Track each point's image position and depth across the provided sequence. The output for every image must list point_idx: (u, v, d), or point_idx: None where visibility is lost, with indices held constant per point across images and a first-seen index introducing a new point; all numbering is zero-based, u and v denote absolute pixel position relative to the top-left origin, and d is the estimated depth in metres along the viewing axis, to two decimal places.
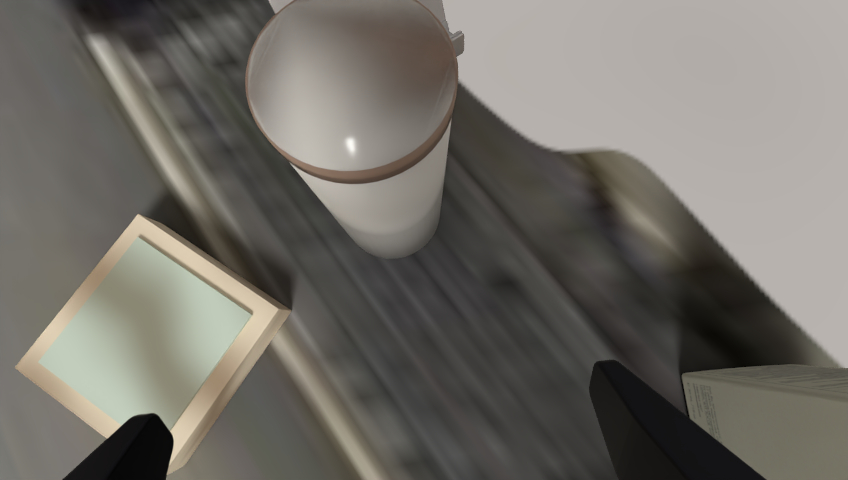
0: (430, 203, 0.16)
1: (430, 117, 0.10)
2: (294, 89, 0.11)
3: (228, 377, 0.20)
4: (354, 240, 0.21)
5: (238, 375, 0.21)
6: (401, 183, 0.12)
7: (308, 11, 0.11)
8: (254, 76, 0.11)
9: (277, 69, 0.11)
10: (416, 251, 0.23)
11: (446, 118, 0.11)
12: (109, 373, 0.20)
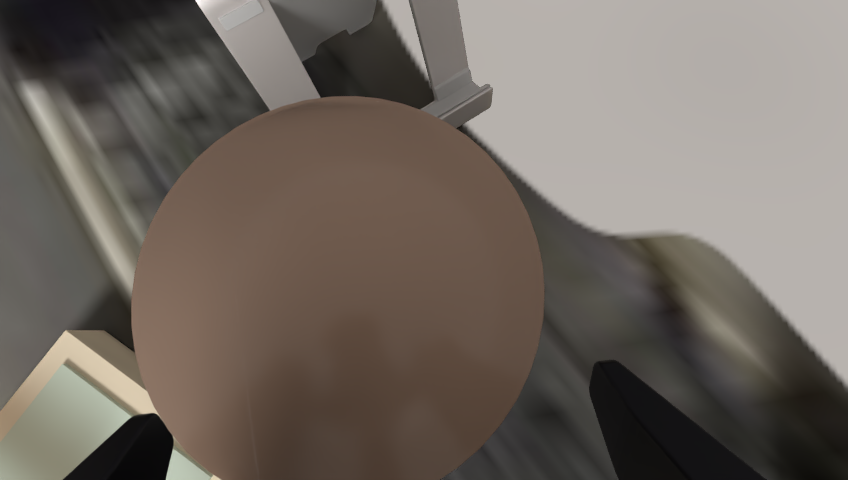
0: None
1: (493, 383, 0.05)
2: (227, 318, 0.05)
3: None
4: None
5: None
6: None
7: (258, 153, 0.06)
8: (150, 288, 0.06)
9: (196, 274, 0.06)
10: None
11: (524, 381, 0.05)
12: None
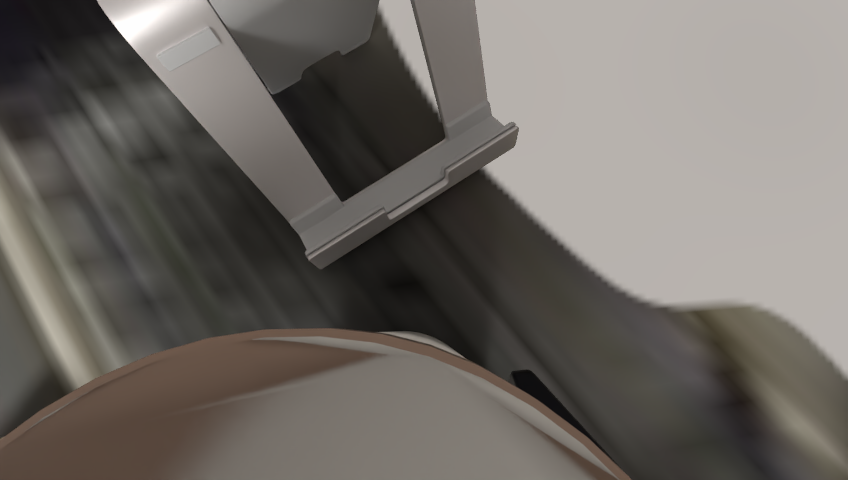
0: None
1: None
2: None
3: None
4: None
5: None
6: None
7: None
8: None
9: None
10: None
11: None
12: None
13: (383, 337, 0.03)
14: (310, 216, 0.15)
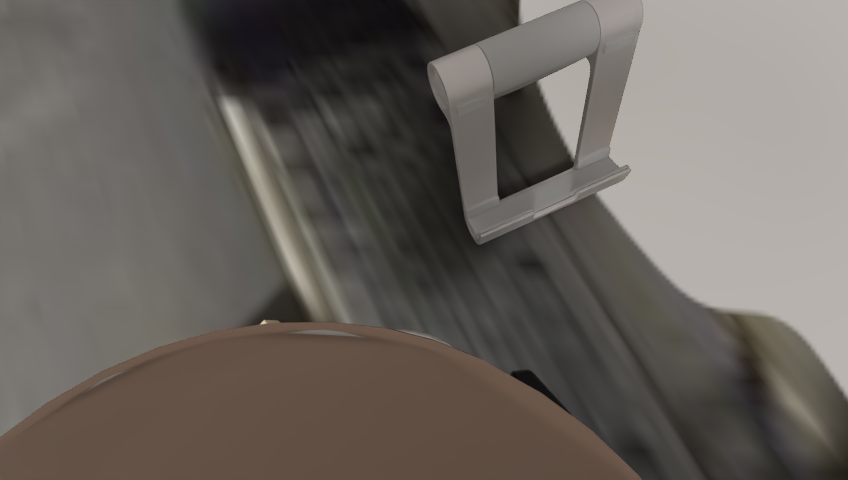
0: None
1: None
2: None
3: None
4: None
5: None
6: None
7: (90, 479, 0.02)
8: None
9: None
10: None
11: None
12: None
13: (388, 330, 0.03)
14: (478, 208, 0.22)
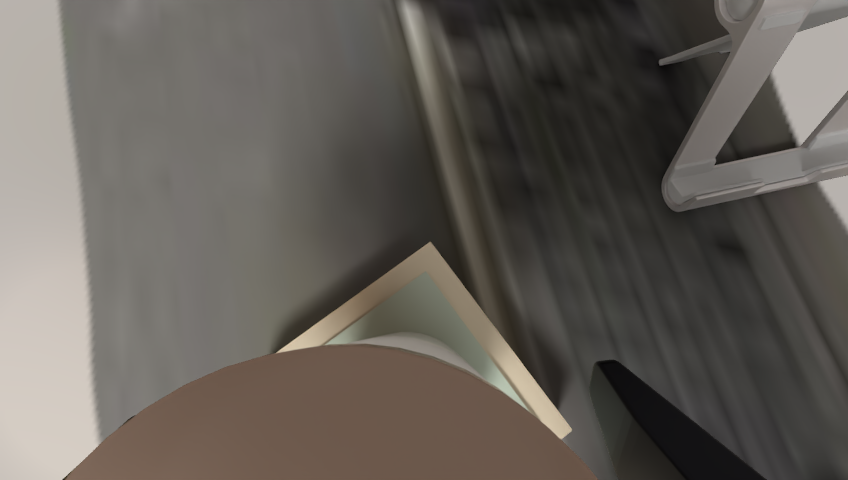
0: None
1: None
2: None
3: None
4: None
5: None
6: None
7: (180, 465, 0.03)
8: None
9: None
10: None
11: None
12: None
13: (398, 354, 0.04)
14: (689, 168, 0.19)
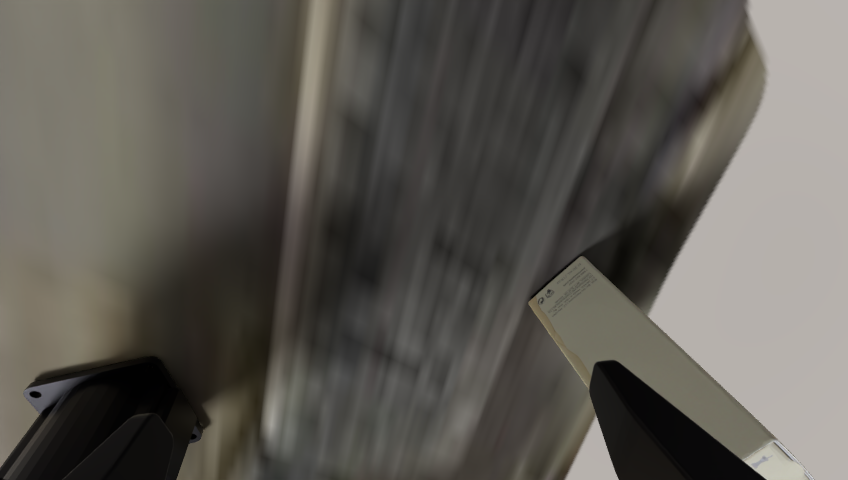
0: None
1: None
2: None
3: None
4: None
5: None
6: None
7: None
8: None
9: None
10: None
11: None
12: None
13: None
14: None
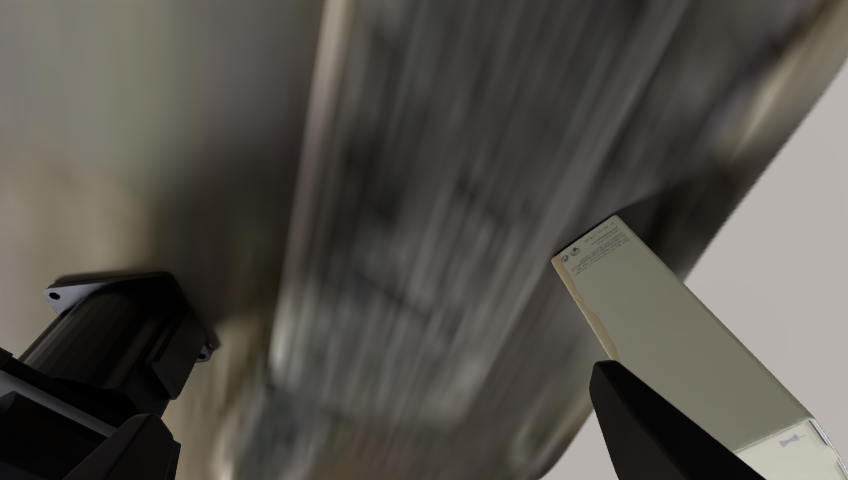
0: None
1: None
2: None
3: None
4: None
5: None
6: None
7: None
8: None
9: None
10: None
11: None
12: None
13: None
14: None
